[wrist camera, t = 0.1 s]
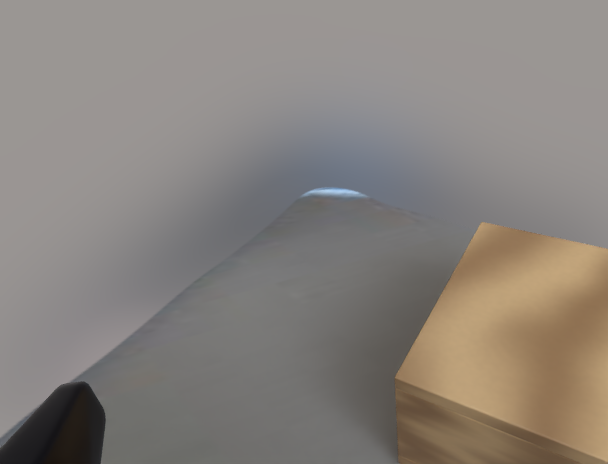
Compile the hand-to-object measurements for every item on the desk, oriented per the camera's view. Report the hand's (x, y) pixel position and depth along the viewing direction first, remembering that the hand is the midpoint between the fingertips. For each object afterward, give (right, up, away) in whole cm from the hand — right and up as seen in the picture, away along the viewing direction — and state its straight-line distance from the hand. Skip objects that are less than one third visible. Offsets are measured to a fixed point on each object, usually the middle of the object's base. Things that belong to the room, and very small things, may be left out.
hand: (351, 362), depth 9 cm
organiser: (+12, -7, +16) cm, 21 cm away
